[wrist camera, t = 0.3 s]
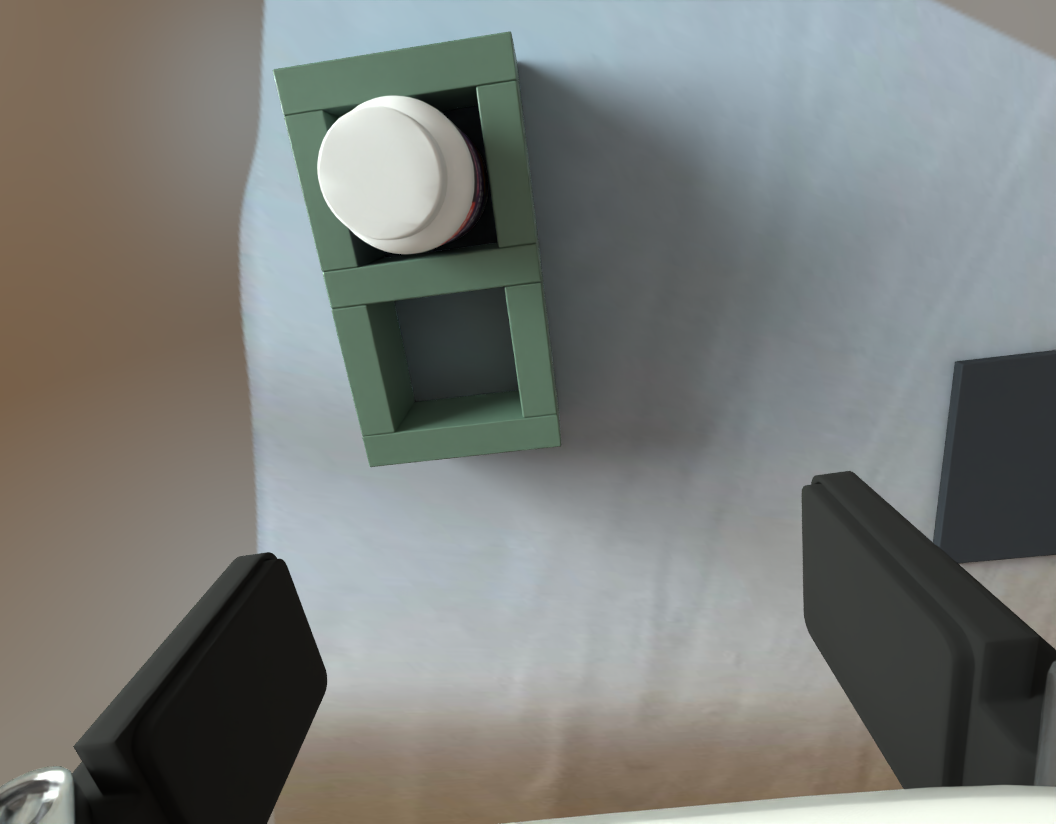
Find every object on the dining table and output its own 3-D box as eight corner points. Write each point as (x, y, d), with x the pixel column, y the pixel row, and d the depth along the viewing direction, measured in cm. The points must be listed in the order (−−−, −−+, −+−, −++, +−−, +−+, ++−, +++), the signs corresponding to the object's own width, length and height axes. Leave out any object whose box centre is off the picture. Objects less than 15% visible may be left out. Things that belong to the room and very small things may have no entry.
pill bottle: (476, 256, 29) (444, 281, 19) (368, 227, 28) (284, 239, 19) (502, 139, 27) (480, 106, 18) (387, 106, 26) (304, 55, 17)
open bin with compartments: (315, 90, 26) (271, 69, 22) (516, 58, 26) (510, 30, 21) (392, 432, 32) (369, 467, 28) (559, 413, 31) (561, 446, 27)
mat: (954, 361, 30) (962, 364, 29) (1162, 337, 29) (1175, 340, 28) (930, 559, 34) (937, 565, 33) (1112, 543, 33) (1122, 548, 32)
